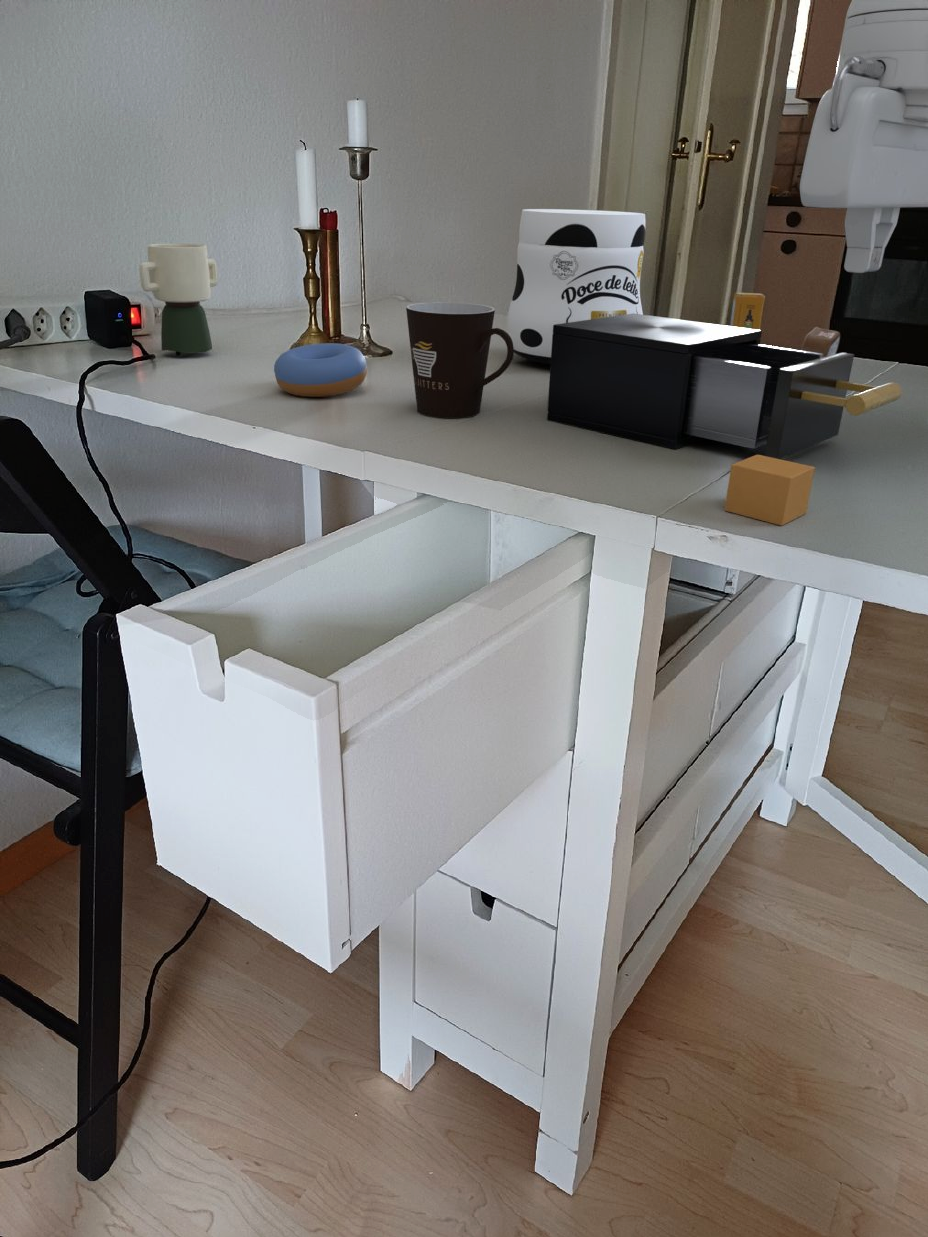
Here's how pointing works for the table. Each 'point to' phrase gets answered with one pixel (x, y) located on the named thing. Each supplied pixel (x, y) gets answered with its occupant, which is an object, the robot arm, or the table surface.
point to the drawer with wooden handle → (774, 397)
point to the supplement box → (747, 310)
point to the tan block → (769, 489)
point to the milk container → (573, 273)
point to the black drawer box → (631, 374)
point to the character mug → (181, 293)
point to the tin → (821, 341)
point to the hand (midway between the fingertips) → (861, 271)
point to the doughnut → (320, 370)
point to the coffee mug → (452, 356)
